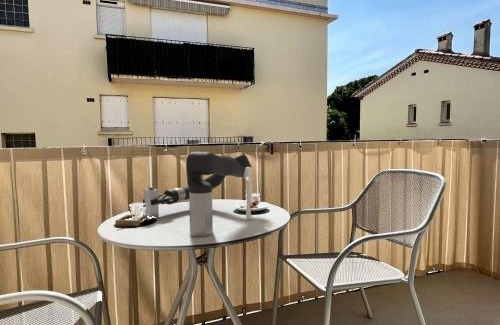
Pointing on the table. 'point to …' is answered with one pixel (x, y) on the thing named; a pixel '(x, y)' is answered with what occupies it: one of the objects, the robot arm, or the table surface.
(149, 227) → the table surface
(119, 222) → the tray
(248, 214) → the character figure
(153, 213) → the grey rectangular block
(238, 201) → the table surface
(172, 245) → the table surface
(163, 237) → the table surface
